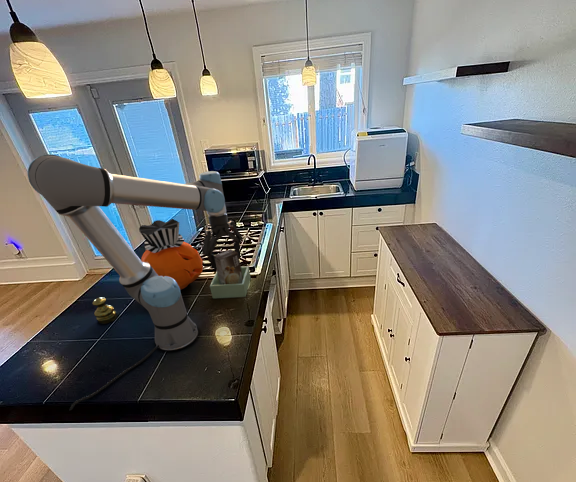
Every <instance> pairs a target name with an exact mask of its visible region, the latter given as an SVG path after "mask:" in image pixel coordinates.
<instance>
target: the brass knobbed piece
mask: <svg viewBox="0 0 576 482" xmlns="http://www.w3.org/2000/svg"><path fill="white" fill-rule="evenodd" d="M106 302H107V298H105V297H97V298H96V299H94V300H93V301H92V305H93V306H96V307H97V308H96V309H95V311H94V313H93V314H94V317H95V319H96V320H97V322H98V323H99V324H101V325H106V324H107V325H108V324H110V323H112V322H114V321H115V320H116V319H117V318H118V314H117V311H116V310H115V307H114V306H113V305H110V304H106Z"/></svg>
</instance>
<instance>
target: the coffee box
mask: <svg viewBox="0 0 576 482" xmlns="http://www.w3.org/2000/svg"><path fill="white" fill-rule="evenodd" d="M214 257H215V262H216V267H217V269H216V272H217V274H218V278H219V282H220V285H225V284H242V282H243V276H242V271H241V267H242V266H241V261H240V258H239V256H238V253H237V252H235V250H234V249H231V248H230V249H228V250H225V251H222V252H220V253H216V254H214Z"/></svg>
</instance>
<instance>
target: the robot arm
mask: <svg viewBox="0 0 576 482" xmlns="http://www.w3.org/2000/svg"><path fill="white" fill-rule="evenodd" d="M27 178H28V179H27V180H28V182H29V184H30V186H31V187H32V189H33V190H34V191H35V192H36V193H38V194H39V195H41V196H42V198H43V199H44V200H45V201H46V202H47V203H48V204H49V205H50V206H51V207H52V209H53V210H54V211H56V214H58V215H59V216H63V217H67V218H69V219H70V220H71V221H72V222H73V224H74V225H75V226H76V227H77V228H78V229H79V230H80V232H81V233H82V234H83V235H84V236H85V237H86V239H87V240H88V241H89V242H90V243H91V245H93V247H94V248H95V249H96V250H97V251H98V252H99V254H101V256H102V257H103V258H104V259H105V260H106V261H107V262H108V264H109V265H110V266H111V267H112V268H113V269H114V271H115V272H116V273H117V274H118V275H119V284H121V286H122V287H123V288H124V290H125V291H126V292H127V294H128V295H129V296H130V298H132V299H134V300H135V301H136V302H137V303H138V304H139V305H141V306H142V307H143V308H144V309H145V310H147V312H148V314H149V316H150V318H151V321H152V324H153V326H154V343H155V345H156V346H155V347H154V348H153V349H152V350H151V351H149V352H148V353H147V354H146V355H145V356H144V357H143V358H141V359H140V360H138V361H137V362H136V363H134V364H133V365H131V366H129V367H128V368H126V369H125V370H123V371H121V372H120V373H119V374H117V375H116V376H115V377H113V378H112V379H111V380H109V381H108V382H107V383H106V384H104V385H103V386H102V387H101V386H100V388H99V389H97V390H95V391H94V392H92V393H91V394H89V395H86V396H84V397H81V398H79V399H77V400H75V401H74V402H73V403H72V404H71V406H70V407H69V410H68V411H73V409H74V408H75V407H76V405H78V404H79V403H81V402H84V401H86V400H89V399H90V398H93V397H95V396H96V395H97V394H99V393H100V392H102V391H103V390H105V389H106V388H107V387H108V386H110V385H112V384H113V383H114V382H115V381H116V380H118V379H120V378H121V377H122V376H124V375H125V374H126V373H128V372H129V371H131V370H133V369H134V368H136V367H137V366H139V365H141V364H142V363H143V362H144V361H145V360H147V359H148V358H150V356H151V355H152V354H153V353H154V352H155V351H156V350H157V349H158V350H160V351H162V352H164V353H165V352H167V353H173V352H178V351H182V350H184V349H187V348H189V347H190V346H191V345H192V344H193V343H195V341H197V339H198V337H199V329H198V326H197V324H196V323H195V322H194V321H193V319H191V317H190V316H189V315H188V312H187V309H186V306H185V303H184V298H183V296H182V293H181V290H180V288H179V286H178V284H177V282H176V281H175V280H174V279H173V278H171V277H168V276H164V277H163V276H158V275H157V273H156V272H155V271H154V269H153V268H152V267H151V265H150V264H149V263H147V262H142V261H141V259H140V257H139V256H138V254H137V253H136V252H135V251H134V249H133V248H132V247H131V246H130V244H129V243H128V242H127V240H126V239H125V237H124V236H123V235H122V234H121V232H120V231H119V230H118V228H117V227H116V226H115V225H114V224H113V222H112V220H111V219H110V218H109V217H108V216H107V215H106V213H105V212H104V211H103V209H102V208H101V207H105V208H107V207H109V206H110V205H111V204H116V205H130V206H142V207H155V208H166V209H167V208H169V209H178V210H179V209H181V210H192V211H193V210H194V211H202V212H206V214H207V219H208V224H209V226H210V229H204V239H203V244H202V251H201V254H202V255H204V256H207V260H208V263H210V267H211V269H214V270H216V269H217V267H216V262H215V257H214V255H215V254H214V250H215V248H216V245H217V242H218V241H219V240H220V239H221V238H223V237H225V236H228V237H229V238H230V239H231V240H232V241H233V243H232V245H233V251H235V252H237V253H238V256H239V259H240V258H242V255H241V243H242V240H244V238H243V235H242V234H241V232H240V230H238V228H237V226H236V223H235V221H233V220H229V218H228V213H227V206H226V199H225V195H224V189H223V183H222V178H221V175H220V173H219V172H218V171H214V170H211V171H204V172H201V173H200V174H199V179H198V180H195V181H192V182H187V183H179V182H171V181H165V180H157V179H150V178H145V177H137V176H130V175H123V174H116V173H110V172H109V171H108V170H107V169H106V168H103V167H97V166H92V165H89V164H84V163H81V162H79V161H75V160H73V159H70V158H67V157H62V156H61V155H57V154H52V153H51V154H43V155H39V156H37V157H35V158H34V159H32V160H31V162H30V163H29V165H28V167H27ZM229 229H230V230H231V231H232V232H231V231H230V230H229ZM216 271H217V270H216Z"/></svg>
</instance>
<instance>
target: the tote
mask: <svg viewBox="0 0 576 482" xmlns="http://www.w3.org/2000/svg"><path fill="white" fill-rule="evenodd" d="M241 271H242V276H243V282H242V284H225V285H220V282H219V278H218V274H217V271H216V272H215V274H214V276H213V278H212V280H211V283H210V285H209V289H210V292H211V297H212V299H230V298H246V296H247V294H248V291H249V290H248V289H249V286H250V282H251V277H252V276H251V271H250V266H249V265H248V266H247V265H246V266H241Z"/></svg>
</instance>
